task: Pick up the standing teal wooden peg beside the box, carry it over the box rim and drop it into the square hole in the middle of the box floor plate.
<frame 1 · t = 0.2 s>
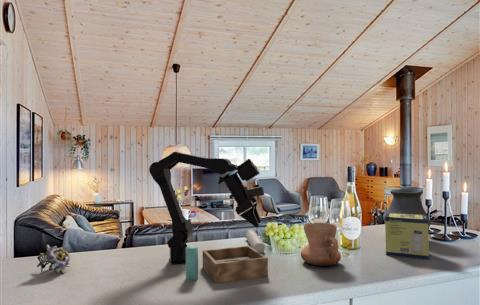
hand: (259, 224, 124), 15 cm above the counter, tool tilted 30°, fingers open, 9 cm apart
tube: (255, 247, 151), on the counter
dark grey flared piece: (407, 240, 160), on the counter
peg: (192, 278, 110), on the counter
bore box: (233, 271, 117), on the counter
ceramic jug: (321, 264, 125), on the counter
passion flower: (52, 273, 117), on the counter
protein box: (406, 254, 136), on the counter
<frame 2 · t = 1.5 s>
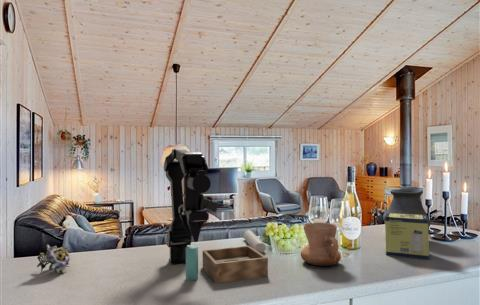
hand: (192, 238, 111), 13 cm above the counter, tool pointing down, fingers open, 9 cm apart
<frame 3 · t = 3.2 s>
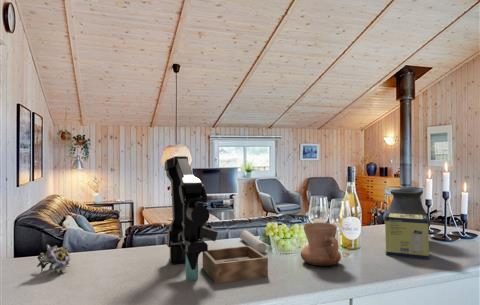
hand: (192, 267, 110), 4 cm above the counter, tool pointing down, fingers closed on peg, 4 cm apart
peg: (192, 278, 110), on the counter, touching gripper
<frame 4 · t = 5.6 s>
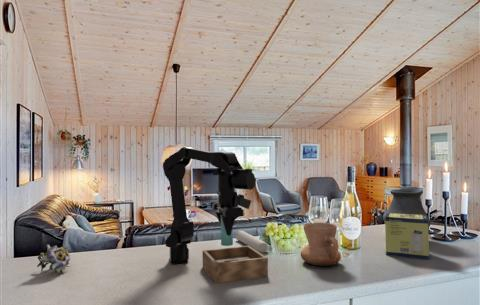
hand: (227, 234, 116), 13 cm above the counter, tool pointing down, fingers closed on peg, 4 cm apart
peg: (227, 244, 116), point 10 cm above the counter, touching gripper
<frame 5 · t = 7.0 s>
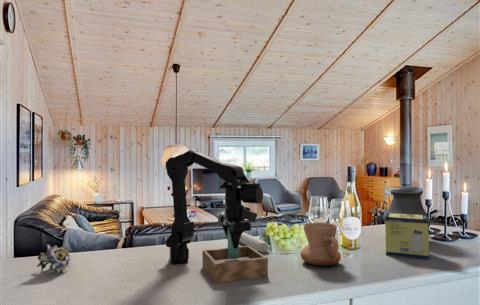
hand: (233, 247, 117), 8 cm above the counter, tool pointing down, fingers closed on peg, 4 cm apart
peg: (233, 257, 117), point 5 cm above the counter, touching gripper
when the fingers open (5 cm above the counter, at t = 8.1 s): peg drops 1 cm, resting in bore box.
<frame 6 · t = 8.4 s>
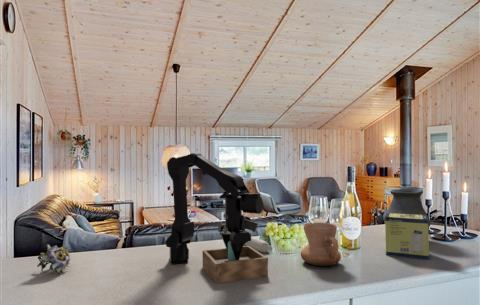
hand: (233, 256, 117), 5 cm above the counter, tool pointing down, fingers open, 7 cm apart
peg: (233, 271, 117), resting in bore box
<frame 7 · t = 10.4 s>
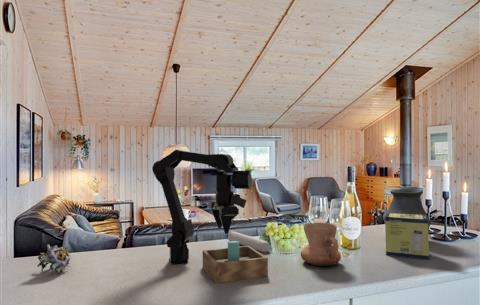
hand: (223, 230, 124), 13 cm above the counter, tool pointing down, fingers open, 9 cm apart
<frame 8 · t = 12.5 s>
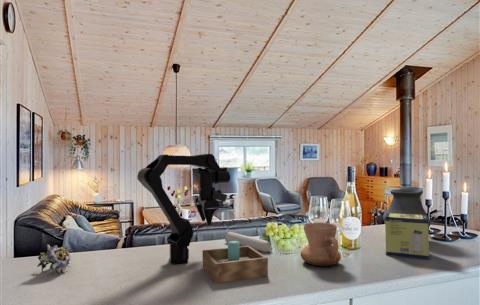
hand: (206, 223, 137), 13 cm above the counter, tool pointing down, fingers open, 9 cm apart
at the end: peg 0.1 cm off-centre on the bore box, point 0.0 cm above the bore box's base; peg tilted 0°; the gripper is holding nothing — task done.
